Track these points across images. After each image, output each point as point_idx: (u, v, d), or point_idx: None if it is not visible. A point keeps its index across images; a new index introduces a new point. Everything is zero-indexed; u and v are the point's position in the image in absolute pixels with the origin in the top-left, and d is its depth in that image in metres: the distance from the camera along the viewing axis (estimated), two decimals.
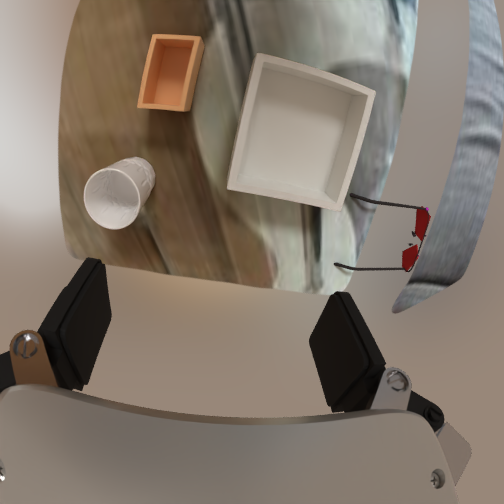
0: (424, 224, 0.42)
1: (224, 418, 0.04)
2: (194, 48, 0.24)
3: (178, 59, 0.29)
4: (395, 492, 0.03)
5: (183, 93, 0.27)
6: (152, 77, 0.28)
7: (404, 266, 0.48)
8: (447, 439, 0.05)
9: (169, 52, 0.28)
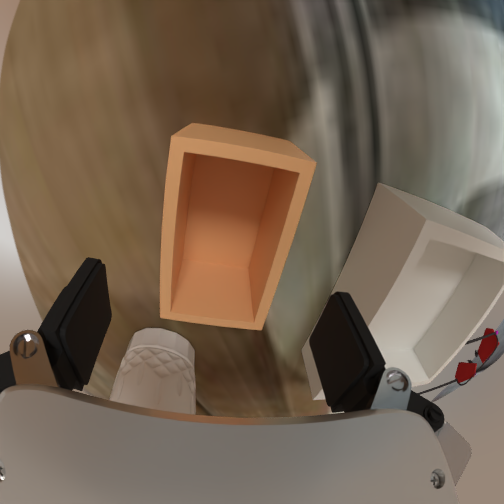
0: (489, 348, 0.29)
1: (224, 418, 0.04)
2: (298, 198, 0.11)
3: (231, 170, 0.16)
4: (395, 492, 0.03)
5: (263, 302, 0.15)
6: (180, 233, 0.15)
7: (457, 377, 0.36)
8: (447, 439, 0.05)
9: None
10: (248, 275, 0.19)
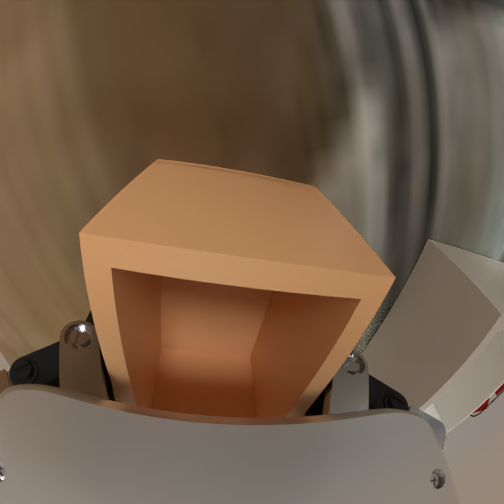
0: None
1: (224, 418, 0.04)
2: (348, 336, 0.06)
3: None
4: (395, 492, 0.03)
5: None
6: (148, 344, 0.09)
7: None
8: None
9: None
10: (250, 369, 0.13)
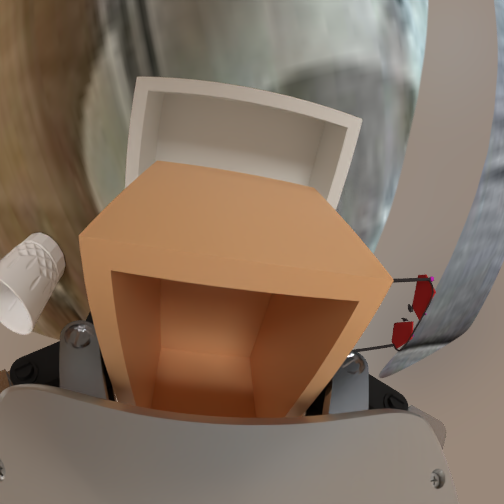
0: (425, 299, 0.31)
1: (224, 418, 0.04)
2: (347, 338, 0.06)
3: None
4: (395, 492, 0.03)
5: None
6: (147, 345, 0.09)
7: (394, 342, 0.37)
8: None
9: None
10: (249, 370, 0.13)
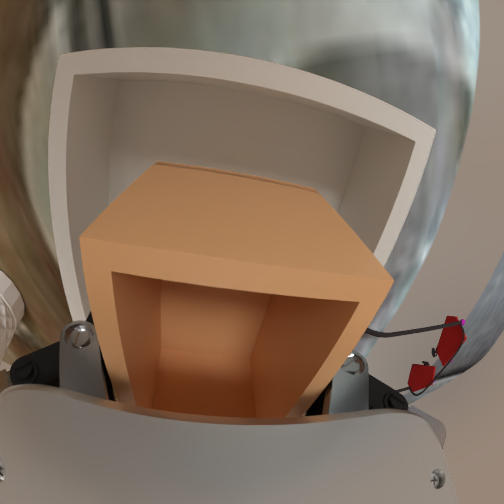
0: (453, 345, 0.24)
1: (224, 418, 0.04)
2: (347, 339, 0.06)
3: None
4: (395, 492, 0.03)
5: None
6: (147, 346, 0.09)
7: (410, 384, 0.30)
8: None
9: None
10: (250, 370, 0.13)
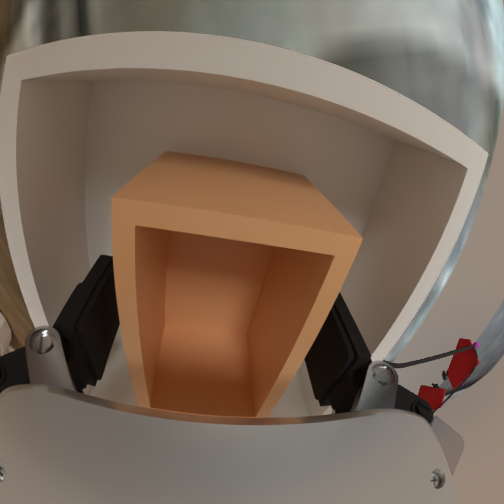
0: (464, 369, 0.21)
1: (224, 418, 0.04)
2: (327, 291, 0.07)
3: None
4: (395, 492, 0.03)
5: (268, 401, 0.10)
6: (154, 313, 0.10)
7: None
8: (438, 433, 0.06)
9: None
10: (247, 346, 0.15)
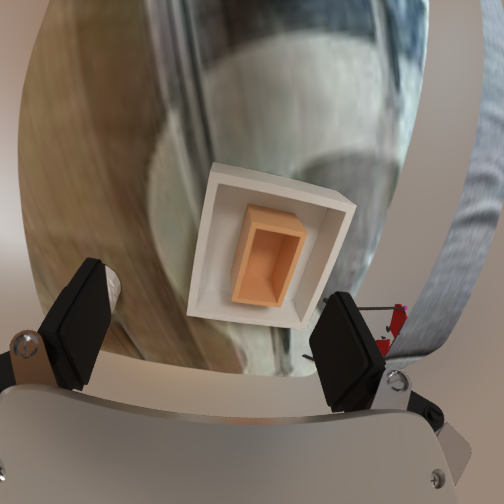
0: (399, 323, 0.42)
1: (224, 418, 0.04)
2: (299, 246, 0.29)
3: None
4: (395, 492, 0.03)
5: (282, 292, 0.31)
6: None
7: None
8: (447, 439, 0.05)
9: None
10: (271, 282, 0.36)
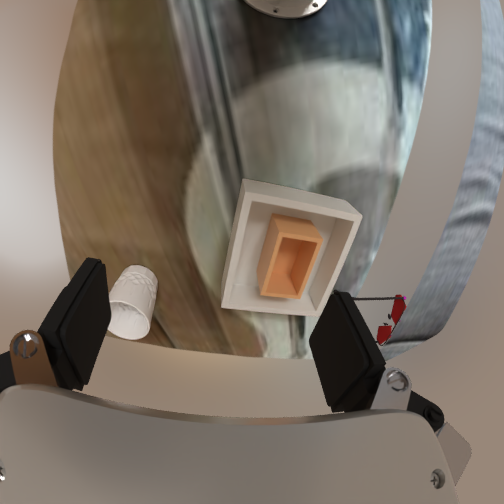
0: (399, 311, 0.49)
1: (224, 418, 0.04)
2: (316, 250, 0.35)
3: None
4: (395, 492, 0.03)
5: (302, 286, 0.38)
6: None
7: (378, 339, 0.55)
8: (447, 439, 0.05)
9: None
10: (291, 277, 0.42)
